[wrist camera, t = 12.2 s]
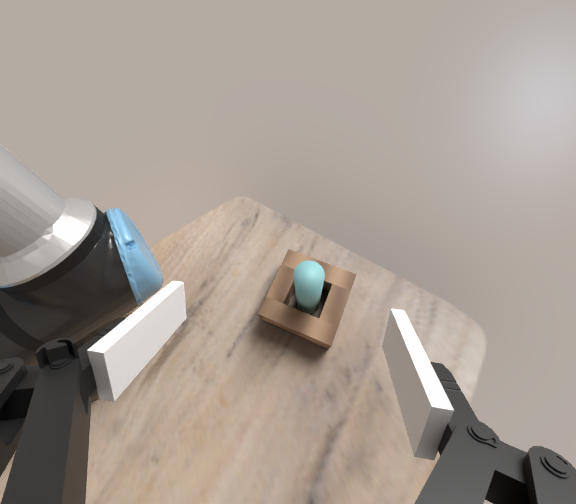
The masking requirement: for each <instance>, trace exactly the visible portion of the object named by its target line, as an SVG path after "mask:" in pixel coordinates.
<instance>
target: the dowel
mask: <svg viewBox="0 0 576 504" xmlns="http://www.w3.org/2000/svg"><path fill="white" fill-rule="evenodd" d="M293 275H294V285H295V294H296V303H297V307H298V309H299V310H300V311H302V312H305V313H307V314H311V313H313V312H315V311H316V310H317V309H318V307H319V303H320V298H321V293H322V288H323V283H324V278H325V273H324V270H323V268H322V266H321V265H320V264H318V263H317V262H315V261H309V260H308V261H303V262H301V263H299V264H298V265H297V266H296V268H295V270H294V274H293Z"/></svg>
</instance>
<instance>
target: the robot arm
mask: <svg viewBox="0 0 576 504" xmlns="http://www.w3.org/2000/svg"><path fill="white" fill-rule="evenodd" d="M162 283H163V275H162V272H161V269H160V267H159V265H158V262H157V260H156V259H155V257H154V255H153V253H152V251H151V250H150V248H149V246H148V245H147V243H146V241H145V240H144V238H143V237H142V235H141V233H140V232H139V230H138V229H137V228H136V226H135V225H134V223H133V222H132V221H131V219H130V218H129V217H128V216H127V215H126V214H125V213H124V212H123V211H122V210H121V209H119V208H113V209H107V210H106V212H105V213H102V212H101V211H100V210H99V209H98V208H97V207H96V206H95V205H93V204H92V203H91V202H90V201H89V200H87V199H84V198H76V197H63V196H61V195H60V194H58V193H57V192H56V191H55V190H54V189H53V188H51V187H50V186H49V185H48V184H47V183H46V182H45V181H43V180H42V179H41V178H40V177H39V176H38V175H37V174H35V173H34V172H33V171H32V170H31V169H30V168H29V167H27V166H26V165H25V164H24V163H23V162H22V161H20V160H19V159H18V158H17V157H16V156H15V155H13V154H12V153H11V152H10V151H9V150H8V149H7V148H5V147H4V146H3V145H2V144H1V143H0V477H1V475H2V473H3V471H4V470H5V468H6V466H7V464H8V463H9V461H10V459H11V458H12V456H13V454H14V452H15V451H16V453H15V457H14V460H13V464H12V467H11V471H10V474H9V478H8V481H7V484H6V488H5V491H4V495H3V498H2V502H1V504H85V498H86V481H87V464H88V447H89V430H90V413H91V402H92V401H94V400H96V399H98V398H99V399H104V400H109V401H115V400H116V399H117V398H118V397H119V396H120V394H121V393H122V392H123V391H124V390H125V389H126V388H127V386H128V385H129V384H130V383H131V382H132V381H133V379H134V378H135V377H136V376H137V375H138V374H139V372H140V371H141V370H142V369H143V368H144V367H145V366H146V364H147V363H148V362H149V361H150V360H151V359H152V357H153V356H154V355H155V354H156V353H157V352H158V350H159V349H160V348H161V347H162V346H163V345H164V343H165V342H166V341H167V340H168V339H169V338H170V337H171V335H172V334H173V333H174V332H175V331H176V330H177V328H178V327H179V326H180V325H181V324H182V323H183V321H184V320H185V319H186V318H187V317H186V305H185V293H184V282H179V281H172V282H170V283H169V284H168V285H167V286H165V287H164V288H163V289H162V290H160V291H159V292H158V293H157V294H156V295H154V296H153V297H152V298H151V299H149V300H148V301H147V302H146V303H144V304H143V305H142V306H141V307H140V308H138V309H137V310H136V311H135V312H133V313H132V314H131V315H130V316H129V317H127V318H121V316H123V315H124V314H126V313H127V312H129V311H131V310H132V309H134V308H135V307H137V306H140V305H141V304H142V302H143V301H145V300H146V299H147V298H149V297H150V296H151V295H153V294H154V293H156V292H157V291H158V290H159V289H160V288H161V286H162ZM382 347H383V350H384V354H385V357H386V360H387V364H388V367H389V371H390V374H391V378H392V381H393V385H394V388H395V392H396V395H397V399H398V402H399V405H400V409H401V412H402V416H403V419H404V423H405V426H406V430H407V433H408V437H409V440H410V444H411V447H412V450H413V454H414V457H419V458H425V459H430V460H434V459H435V457H436V454H437V452H438V451H439V454H440V458H439V460H438V461H437V463H436V465H435V467H434V469H433V471H432V472H431V474H430V476H429V478H428V480H427V482H426V483H425V485H424V487H423V489H422V491H421V493H420V494H419V496H418V498H417V500H416V502H415V504H483V503H484V500H488V501H489V502H491V503H493V504H576V469H575V468H574V467H573V466H572V465H571V464H570V463H569V462H568V461H567V460H565V459H564V458H563V457H562V456H560V455H559V454H557V453H555V452H554V451H552V450H550V449H547V448H544V447H541V446H533V447H532V448H530V449H529V451H528V453H527V452H524V451H522V450H519V449H517V448H515V447H513V446H510V445H508V444H506V443H504V442H502V441H500V440H499V438H498V436H497V435H496V434H495V433H494V431H493V430H492V429H491V428H489V427H488V426H487V425H485V424H484V423H482V422H480V421H478V419H477V417H476V416H475V414H474V412H473V410H472V408H471V407H470V405H469V403H468V401H467V400H466V398H465V396H464V394H463V393H462V392H461V389H460V387H459V386H458V384H457V383H456V380H455V379H454V377H453V375H452V373H451V372H450V371H449V370H448V369H447V368H446V367H445V366H444V365H443V364H440V363H434V362H430V361H429V359H428V357H427V355H426V353H425V351H424V349H423V347H422V345H421V343H420V341H419V339H418V337H417V335H416V333H415V331H414V329H413V327H412V325H411V323H410V321H409V319H408V317H407V315H406V313H405V311H404V310H398V309H391V311H390V315H389V319H388V324H387V328H386V332H385V336H384V341H383V345H382ZM16 449H17V450H16Z"/></svg>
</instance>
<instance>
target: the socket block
mask: <svg viewBox="0 0 576 504" xmlns="http://www.w3.org/2000/svg"><path fill="white" fill-rule="evenodd" d="M308 260H309V261H315V262H317V263H318V264H320V265H321V266H322V268H323V270H324V273H325V278H324V283H323V288H322V290H324V291H327V292H329V294H328V297H327V300H326V302H325V305H324V307H323V310H322V313H321V315H320V318H316V317H314V316H312V315H309V314H307V313H305V312H302V311H300V310H297V309H295V308H293V307H290V306H288V304H289V301H290V299H291V297H292V294H293V292H294V290H295V285H294V275H293V274H294V270H295V268H296V266H297V265H298V264H299V263H301V262H303V261H308ZM355 277H356V274H354V273H351V272H349V271H346V270H343V269H340V268H338V267H335V266H332V265H330V264H327V263H324V262H322V261H319V260H316V259H313V258H311V257H308V256H305V255H303V254H300V253H297V252H294V251H292V250H288V252H287V254H286V256H285V258H284V260H283V262H282V264H281V267H280V269H279V271H278V273H277V275H276V277H275V279H274V281H273V283H272V285H271V287H270V290H269V292H268V294H267V296H266V298H265V300H264V302H263V304H262V306H261V308H260V311H259V313H258V315H259V316H260V317H261V319H262V320H264V321H266V322H268V323H271V324H273V325H275V326H277V327H280V328H282V329H284V330H286V331H289V332H291V333H293V334H295V335H298V336H300V337H302V338H304V339H307V340H309V341H311V342H313V343H316V344H318V345H320V346H322V347H325V348H327V349H329V348H330V347H331V345H332V342H333V339H334V337H335V334H336V331H337V328H338V325H339V322H340V319H341V317H342V314H343V311H344V308H345V305H346V302H347V299H348V297H349V294H350V291H351V288H352V285H353V282H354V279H355Z"/></svg>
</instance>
